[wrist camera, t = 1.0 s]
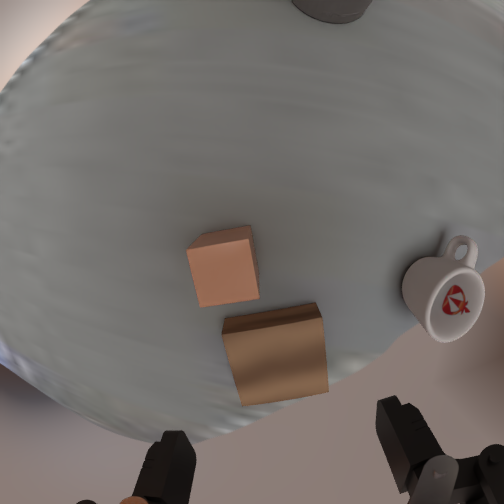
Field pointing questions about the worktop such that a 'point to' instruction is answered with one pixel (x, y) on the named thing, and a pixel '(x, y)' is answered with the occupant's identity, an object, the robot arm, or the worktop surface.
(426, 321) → the cup
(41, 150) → the worktop surface
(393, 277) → the worktop surface
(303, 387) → the walnut block
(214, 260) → the terracotta block
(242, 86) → the worktop surface
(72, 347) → the worktop surface
